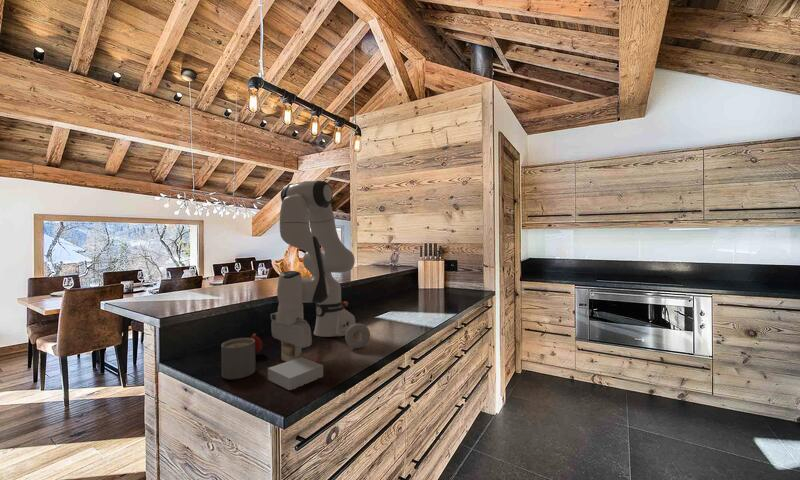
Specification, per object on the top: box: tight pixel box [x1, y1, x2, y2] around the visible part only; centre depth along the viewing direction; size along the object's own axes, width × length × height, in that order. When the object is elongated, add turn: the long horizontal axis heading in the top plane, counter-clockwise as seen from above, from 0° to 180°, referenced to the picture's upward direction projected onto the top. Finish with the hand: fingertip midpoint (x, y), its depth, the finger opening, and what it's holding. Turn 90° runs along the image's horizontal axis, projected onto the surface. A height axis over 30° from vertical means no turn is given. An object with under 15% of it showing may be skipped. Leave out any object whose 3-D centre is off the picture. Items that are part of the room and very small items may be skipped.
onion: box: [250, 333, 263, 356], centre depth 123 cm, size 6×6×8 cm
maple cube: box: [280, 343, 302, 362], centre depth 118 cm, size 5×5×5 cm
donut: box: [344, 322, 371, 349], centre depth 129 cm, size 10×4×10 cm, turn 102°
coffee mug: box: [220, 337, 256, 380], centre depth 109 cm, size 13×10×10 cm
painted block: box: [267, 356, 324, 391], centre depth 102 cm, size 12×12×4 cm
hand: (291, 354), depth 118 cm, fingers closed on maple cube, 5 cm apart
